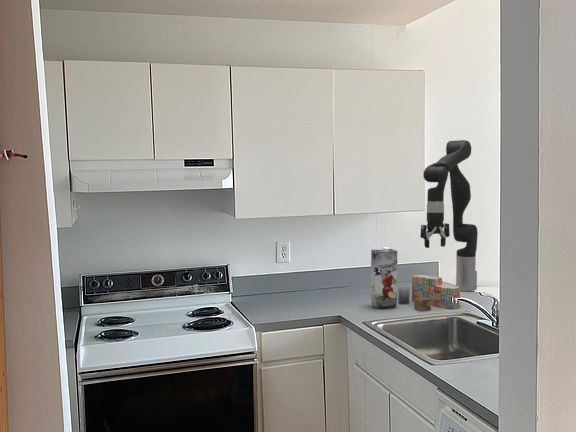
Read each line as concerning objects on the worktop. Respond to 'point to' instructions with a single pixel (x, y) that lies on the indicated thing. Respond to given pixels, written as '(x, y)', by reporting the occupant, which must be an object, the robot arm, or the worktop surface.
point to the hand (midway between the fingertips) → (434, 247)
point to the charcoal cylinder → (403, 295)
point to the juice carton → (384, 278)
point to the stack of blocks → (435, 291)
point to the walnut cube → (422, 304)
